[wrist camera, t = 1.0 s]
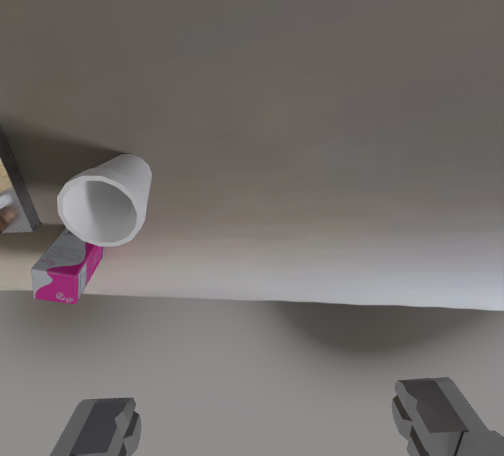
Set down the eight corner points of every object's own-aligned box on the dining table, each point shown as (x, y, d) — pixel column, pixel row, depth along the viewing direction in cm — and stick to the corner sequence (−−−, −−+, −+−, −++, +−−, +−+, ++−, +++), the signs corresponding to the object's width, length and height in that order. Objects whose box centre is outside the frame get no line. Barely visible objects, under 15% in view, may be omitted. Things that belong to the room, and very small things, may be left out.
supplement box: (67, 252, 53) (31, 299, 43) (67, 224, 50) (29, 267, 41) (102, 259, 54) (75, 306, 44) (104, 231, 52) (76, 275, 42)
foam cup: (174, 179, 48) (159, 219, 37) (132, 212, 50) (106, 259, 39) (127, 129, 44) (94, 158, 32) (84, 168, 46) (39, 206, 35)
